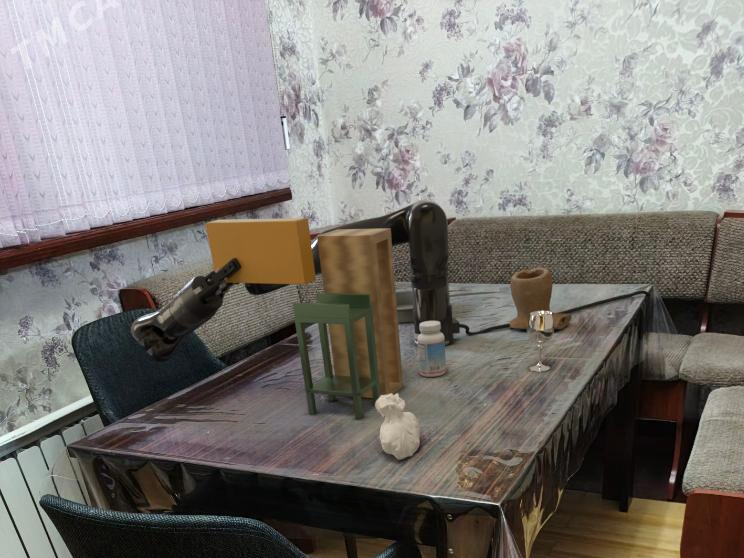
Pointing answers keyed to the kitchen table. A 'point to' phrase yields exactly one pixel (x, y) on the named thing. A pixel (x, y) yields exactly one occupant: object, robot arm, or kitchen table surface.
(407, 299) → the cake pan
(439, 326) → the pill bottle
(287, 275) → the book
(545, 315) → the wineglass
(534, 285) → the brown clay vessel
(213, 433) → the kitchen table surface
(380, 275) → the tall stand
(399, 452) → the white tied sack
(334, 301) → the book rack
